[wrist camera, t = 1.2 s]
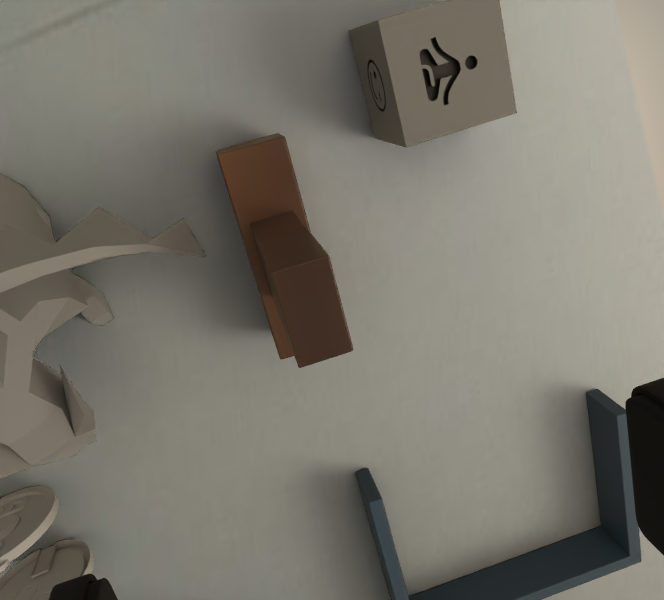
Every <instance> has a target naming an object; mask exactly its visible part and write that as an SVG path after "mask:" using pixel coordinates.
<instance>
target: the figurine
mask: <svg viewBox="0 0 664 600" xmlns="http://www.w3.org/2000/svg"><path fill="white" fill-rule="evenodd" d="M147 252H158V253H168V254H177V255H187V256H197V257H205V256H206V254H205V252H204V250H203V249H202V247H201V246H200V244H199V242H198V241H197V239H196V237H195V236H194V234H193V233H192V231H191V229H190V228H189V226H188V225H187V223H186V221H185V220H184V218H183V219H182V220H180V221H179V222H177V223H176V224H174V225H173V226H171V227H170V228H168V229H167V230H165V231H164V232H162V233H161V234H159V235H158V236H156V237H155V238H151V237H149V236H148V235H146V234H144V233H143V232H141V231H139V230H138V229H136V228H134V227H133V226H131V225H129V224H127V223H126V222H124V221H122V220H121V219H119V218H117V217H116V216H114V215H112V214H111V213H109V212H107V211H106V210H104V209H102V208H101V207H98V208H97V209H95V210H94V211H93V212H92V213H91V214H90V215H88V216H87V217H86V218H85V219H84V220H82V221H81V222H80V223H79V224H78V225H77V226H75V227H74V228H73V229H72V230H71V231H69V232H68V233H67V234H66V235H65V236H63V237H62V238H61V239H60V240H59V241H58V242H56V241H55V239H54V237H53V233H52V228H51V223H50V218H49V216H48V215H47V213H46V212H45V211H44V210H43V209H42V208H41V206H40V205H39V204H38V203H37V202H36V201H35V200H34V198H33V197H32V196H31V195H30V194H29V193H28V192H27V190H26V189H25V188H24V187H23V186H21V185H19V184H18V183H16V182H14V181H12V180H10V179H8V178H6V177H4V176H3V175H1V174H0V479H1V478H4V477H6V476H9V475H12V474H14V473H17V472H20V471H22V470H25V469H27V468H30V467H33V466H38V465H43V464H47V463H50V462H54V461H57V460H61V459H64V458H68V457H72V456H75V455H77V454H78V453H79V452H80V451H81V450H82V449H83V448H84V447H85V446H86V445H88V444H90V443H93V442H95V441H96V431H95V421H94V411H93V410H92V409H91V408H90V406H89V405H88V404H87V403H86V402H85V401H84V400H83V398H82V397H81V395H80V394H79V393H78V391H77V390H76V388H75V387H74V386H73V384H72V383H71V382H70V381H69V380H68V378H67V376H66V374H65V372H64V371H63V369H62V367H61V365H60V368H61V374H60V373H58V372H57V371H55V370H53V369H51V368H50V367H48V366H46V365H44V364H42V363H41V362H39V361H37V360H35V359H33V351H34V349H35V348H36V346H37V345H38V344H39V342H40V341H41V339H43V338H44V337H46V336H47V335H48V334H50V333H51V332H53V331H54V330H56V329H57V328H58V327H60V326H61V325H63V324H64V323H66V322H67V321H68V320H70V319H71V318H73V317H74V316H76V315H77V314H78V313H81V314H82V315H83V316H84V317H85V318H86V319H87V320H88V321H89V322H90V323H92V324H96V325H101V326H103V325H104V324H106V323H107V322H109V321H110V320H112V319H113V316H112V313H111V311H110V309H109V307H108V304H107V302H106V300H105V297H104V295H103V294H102V293H101V292H100V291H98V290H97V289H96V288H95V287H93V286H92V285H91V284H89V283H88V282H87V281H85V280H84V279H82V278H80V277H78V276H76V275H74V274H73V273H72V271H71V270H70V268H74V267H78V266H82V265H85V264H89V263H93V262H97V261H101V260H104V259H108V258H112V257H116V256H120V255H129V254H138V253H147Z"/></svg>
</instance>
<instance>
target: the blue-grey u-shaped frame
mask: <svg viewBox="0 0 664 600" xmlns="http://www.w3.org/2000/svg"><path fill="white" fill-rule="evenodd" d="M586 394H587V403H588V412H589V421H590V429H591V438H592V447H593V456H594V465H595V473H596V482H597V491H598V500H599V509H600V517H601V526H600V527H597V528H595V529H592V530H589V531H586V532H584V533H581V534H578V535H576V536H573V537H570V538H567V539H565V540H562V541H559V542H557V543H554V544H551V545H549V546H546V547H543V548H540V549H538V550H535V551H532V552H530V553H527V554H524V555H521V556H519V557H516V558H513V559H511V560H508V561H505V562H503V563H500V564H497V565H494V566H492V567H489V568H486V569H484V570H481V571H478V572H476V573H473V574H470V575H467V576H465V577H462V578H459V579H457V580H454V581H451V582H448V583H446V584H443V585H440V586H438V587H435V588H432V589H430V590H427V591H424V592H421V593H419V594H416V595H413V596H411V597H408V594H407V590H406V586H405V583H404V579H403V575H402V571H401V568H400V564H399V560H398V557H397V553H396V549H395V545H394V542H393V538H392V534H391V530H390V527H389V523H388V519H387V516H386V512H385V508H384V504H383V501H382V498H381V495H380V493H379V491H378V489H377V487H376V485H375V482H374V480H373V478H372V476H371V474H370V471H369V469H368V468H366V469H363V470H360V471H357V472H356V477H357V481H358V484H359V488H360V491H361V495H362V499H363V502H364V506H365V509H366V513H367V516H368V520H369V523H370V527H371V530H372V534H373V538H374V541H375V545H376V548H377V552H378V555H379V559H380V562H381V566H382V569H383V573H384V577H385V580H386V584H387V587H388V591H389V594H390V598H391V600H541V599H544V598H547V597H549V596H552V595H554V594H557V593H560V592H562V591H565V590H568V589H570V588H573V587H576V586H578V585H581V584H583V583H586V582H589V581H591V580H594V579H597V578H599V577H602V576H605V575H607V574H610V573H612V572H615V571H618V570H620V569H623V568H626V567H628V566H631V565H634V564H636V563H639V562H641V549H640V537H639V526H638V523H637V520H636V513H635V502H634V492H633V481H632V470H631V460H630V449H629V439H628V428H627V417H626V410H625V409H624V408H622V407H621V406H620V405H618V404H617V403H616V402H614V401H613V400H612V399H610V398H609V397H608V396H606V395H605V394H604V393H602V392H601V391H600V390H598V389H596V390H593V391H590V392H587V393H586Z"/></svg>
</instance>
